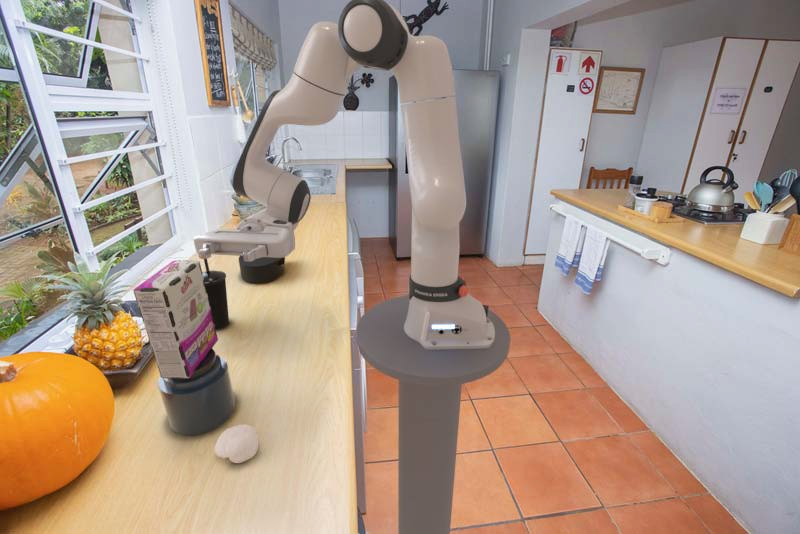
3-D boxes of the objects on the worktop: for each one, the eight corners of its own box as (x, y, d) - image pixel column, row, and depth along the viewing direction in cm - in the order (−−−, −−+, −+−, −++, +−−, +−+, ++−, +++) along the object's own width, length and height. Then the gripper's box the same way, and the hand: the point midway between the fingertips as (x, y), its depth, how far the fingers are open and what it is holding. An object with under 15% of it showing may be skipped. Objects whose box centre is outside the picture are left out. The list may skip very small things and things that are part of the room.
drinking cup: (215, 335, 95) (198, 261, 88) (196, 327, 99) (179, 254, 91) (241, 322, 101) (228, 251, 94) (222, 314, 105) (208, 245, 97)
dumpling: (262, 438, 67) (262, 424, 65) (254, 467, 62) (254, 453, 60) (219, 435, 66) (218, 421, 63) (209, 465, 61) (207, 451, 59)
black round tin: (237, 288, 122) (234, 267, 119) (244, 264, 137) (242, 244, 134) (285, 285, 125) (283, 265, 122) (287, 261, 141) (285, 243, 137)
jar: (246, 395, 76) (236, 344, 71) (213, 439, 66) (199, 383, 61) (195, 389, 78) (182, 338, 73) (155, 431, 68) (137, 376, 63)
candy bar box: (192, 340, 72) (172, 259, 66) (219, 340, 72) (201, 259, 66) (158, 380, 62) (130, 288, 56) (189, 380, 62) (165, 288, 56)
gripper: (213, 219, 88) (171, 238, 75) (299, 222, 85) (270, 243, 72) (218, 245, 90) (179, 268, 78) (302, 249, 87) (274, 274, 75)
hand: (224, 256), depth 75 cm, fingers open, 8 cm apart
